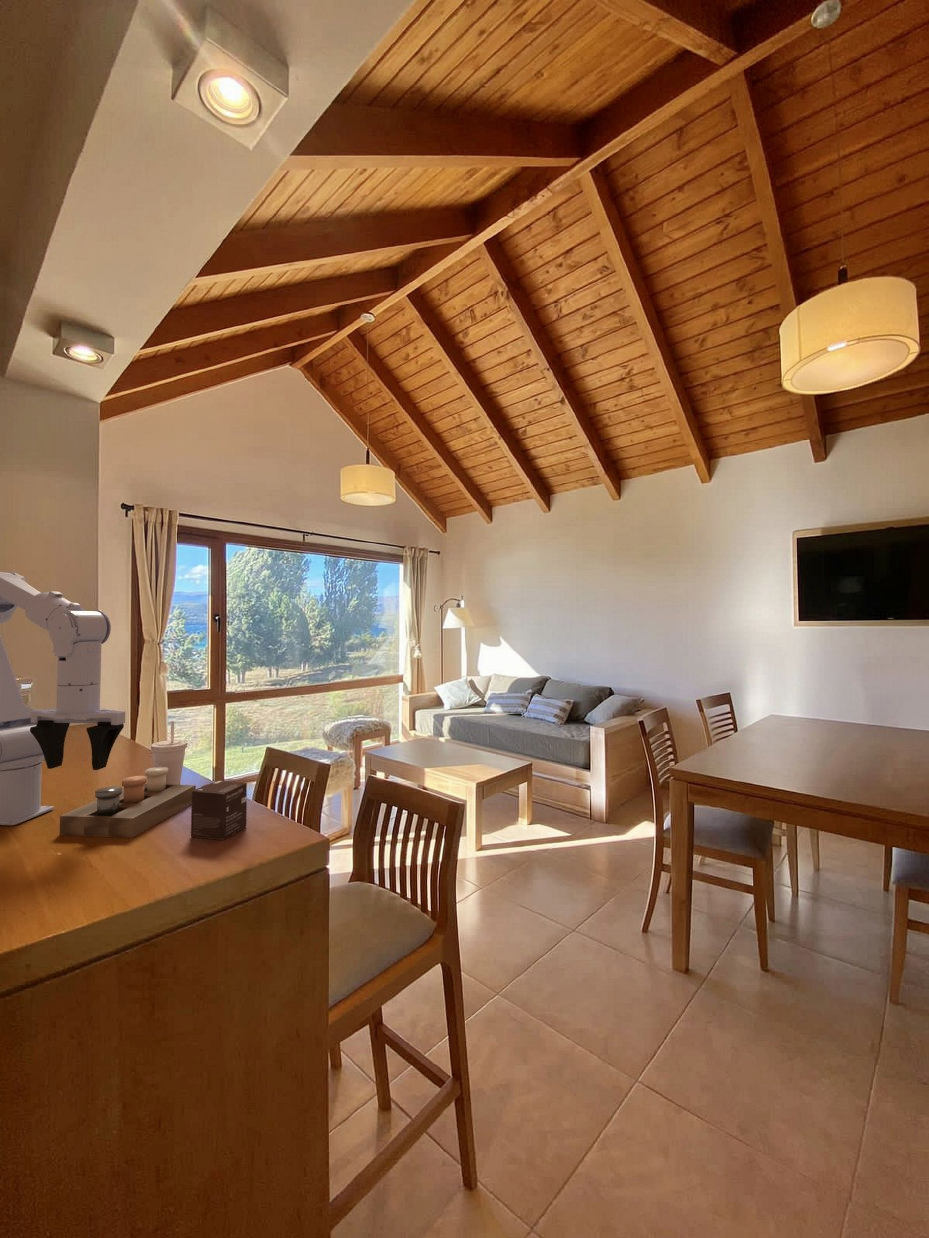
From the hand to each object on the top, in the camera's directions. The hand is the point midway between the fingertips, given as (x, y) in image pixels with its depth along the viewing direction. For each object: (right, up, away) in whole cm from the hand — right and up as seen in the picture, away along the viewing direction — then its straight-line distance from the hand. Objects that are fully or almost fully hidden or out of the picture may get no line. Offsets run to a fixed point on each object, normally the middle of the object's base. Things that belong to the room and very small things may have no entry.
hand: (77, 767), depth 84 cm
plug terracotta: (+6, -8, +6) cm, 11 cm away
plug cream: (+6, -8, +12) cm, 15 cm away
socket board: (+6, -10, +6) cm, 13 cm away
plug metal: (+5, -7, 0) cm, 9 cm away
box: (+23, -10, -1) cm, 26 cm away
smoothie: (+4, -10, +19) cm, 22 cm away
